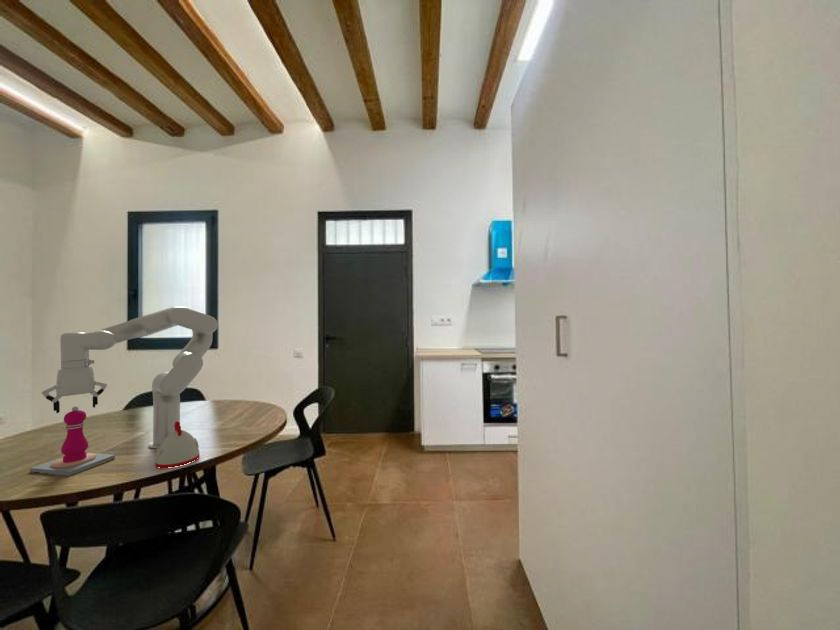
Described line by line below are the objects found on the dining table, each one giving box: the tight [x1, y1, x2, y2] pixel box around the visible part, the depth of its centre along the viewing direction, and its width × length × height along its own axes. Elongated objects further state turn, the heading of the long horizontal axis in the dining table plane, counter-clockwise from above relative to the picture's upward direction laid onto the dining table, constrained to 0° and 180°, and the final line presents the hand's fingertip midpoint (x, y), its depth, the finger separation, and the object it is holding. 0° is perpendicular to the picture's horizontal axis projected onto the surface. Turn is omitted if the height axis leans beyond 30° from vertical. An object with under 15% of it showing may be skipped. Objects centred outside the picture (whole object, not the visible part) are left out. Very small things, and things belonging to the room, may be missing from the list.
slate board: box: [29, 451, 116, 477], centre depth 127 cm, size 18×15×2 cm
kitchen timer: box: [155, 421, 200, 468], centre depth 130 cm, size 14×14×15 cm
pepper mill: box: [60, 406, 89, 463], centre depth 127 cm, size 7×7×20 cm
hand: (76, 409), depth 128 cm, fingers open, 9 cm apart
